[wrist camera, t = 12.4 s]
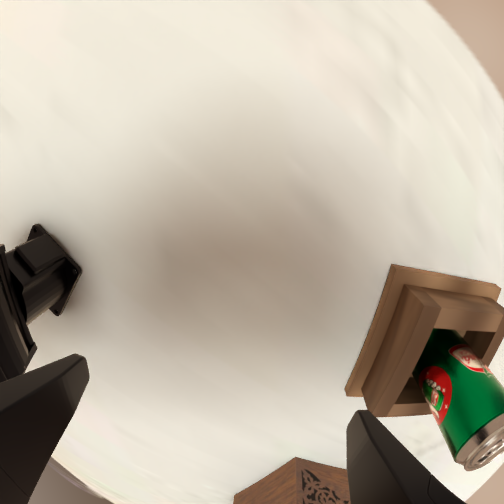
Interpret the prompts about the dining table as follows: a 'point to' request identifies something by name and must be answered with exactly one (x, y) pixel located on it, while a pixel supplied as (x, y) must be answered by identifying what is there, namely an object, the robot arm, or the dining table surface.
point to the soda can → (462, 398)
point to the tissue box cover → (299, 485)
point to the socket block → (420, 335)
